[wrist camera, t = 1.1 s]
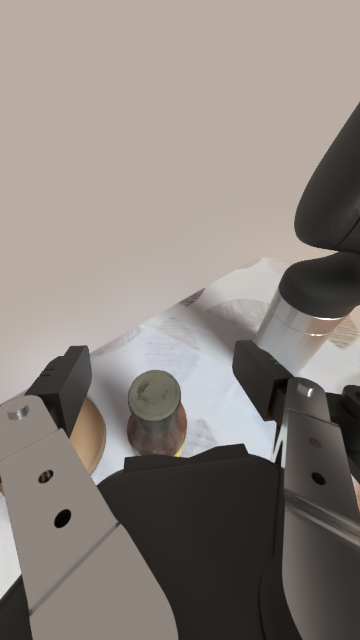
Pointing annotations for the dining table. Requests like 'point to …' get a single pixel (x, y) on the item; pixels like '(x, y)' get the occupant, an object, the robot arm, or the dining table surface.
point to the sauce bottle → (156, 415)
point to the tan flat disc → (87, 436)
